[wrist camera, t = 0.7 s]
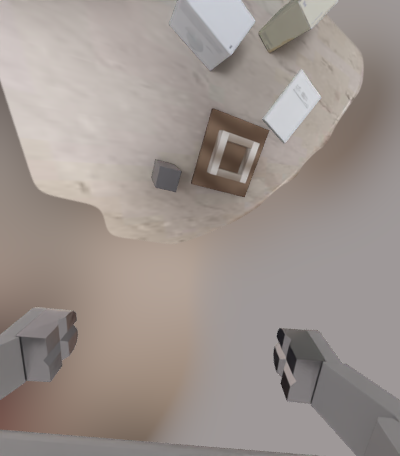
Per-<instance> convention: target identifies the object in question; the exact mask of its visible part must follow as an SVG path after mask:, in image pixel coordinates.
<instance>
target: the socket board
mask: <svg viewBox="0 0 400 456" xmlns="http://www.w3.org/2000/svg"><path fill="white" fill-rule="evenodd" d="M268 132H269V130H267V129H264V128H262V127H259V126H257V125H254V124H252V123H249V122H247V121H244V120H242V119H239V118H236V117H234V116H231V115H229V114H226V113H224V112H221V111H219V110H216V109H212V111H211V115H210V118H209V122H208V125H207V129H206V132H205V136H204V139H203V143H202V146H201V150H200V153H199V157H198V160H197V164H196V167H195V171H194V174H193V178H192V181H191V183H192V184H194V185H198V186H202V187H206V188H210V189H214V190H218V191H222V192H226V193H230V194H234V195H238V196H242V197H245V195H246V192H247V189H248V187H249V184H250V181H251V178H252V176H253V173H254V170H255V168H256V165H257V162H258V159H259V157H260V154H261V151H262V149H263V146H264V143H265V140H266V138H267V135H268Z"/></svg>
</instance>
